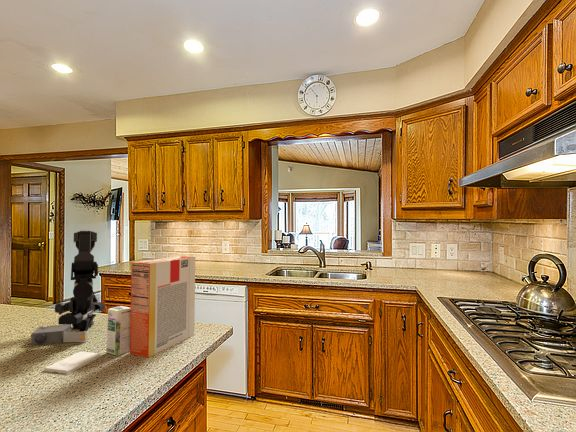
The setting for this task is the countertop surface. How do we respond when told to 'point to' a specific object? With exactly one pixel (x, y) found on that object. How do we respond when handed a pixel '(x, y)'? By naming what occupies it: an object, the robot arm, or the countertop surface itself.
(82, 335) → the side door
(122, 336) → the syrup box
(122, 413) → the countertop surface
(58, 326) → the camera block
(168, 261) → the cereal box
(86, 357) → the external hard drive
